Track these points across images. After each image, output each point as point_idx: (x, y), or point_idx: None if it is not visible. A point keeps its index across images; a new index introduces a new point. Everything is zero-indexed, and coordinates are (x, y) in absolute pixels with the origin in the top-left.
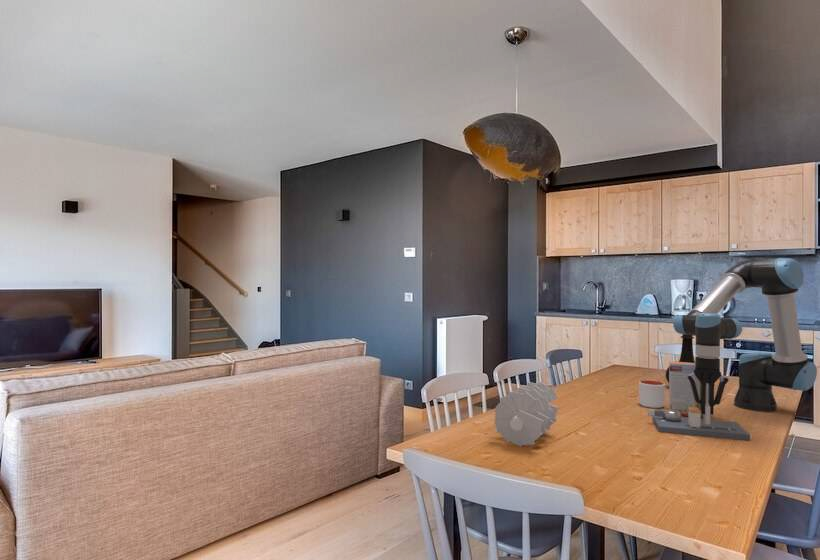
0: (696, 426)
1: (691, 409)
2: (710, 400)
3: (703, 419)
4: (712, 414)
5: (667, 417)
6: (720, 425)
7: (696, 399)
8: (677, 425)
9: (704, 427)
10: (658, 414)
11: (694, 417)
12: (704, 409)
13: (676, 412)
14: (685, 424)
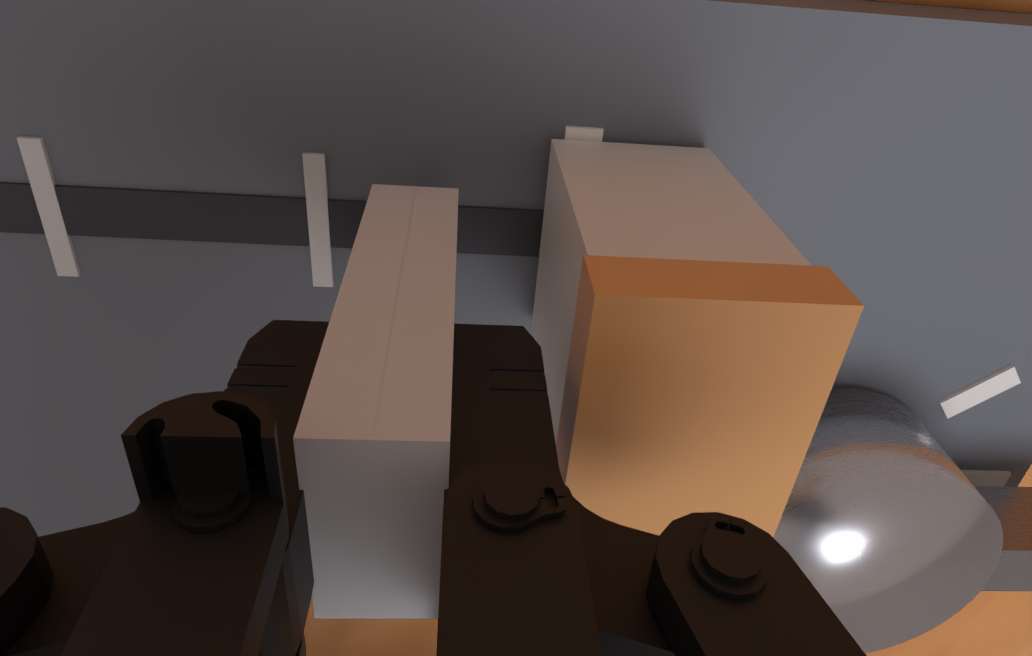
0: (620, 145)
1: (809, 364)
2: (228, 635)
3: None
4: (279, 324)
5: (936, 442)
6: (180, 391)
7: (810, 634)
8: (889, 203)
9: (461, 207)
10: (1029, 508)
11: (702, 217)
12: (468, 396)
13: (828, 533)
14: None
